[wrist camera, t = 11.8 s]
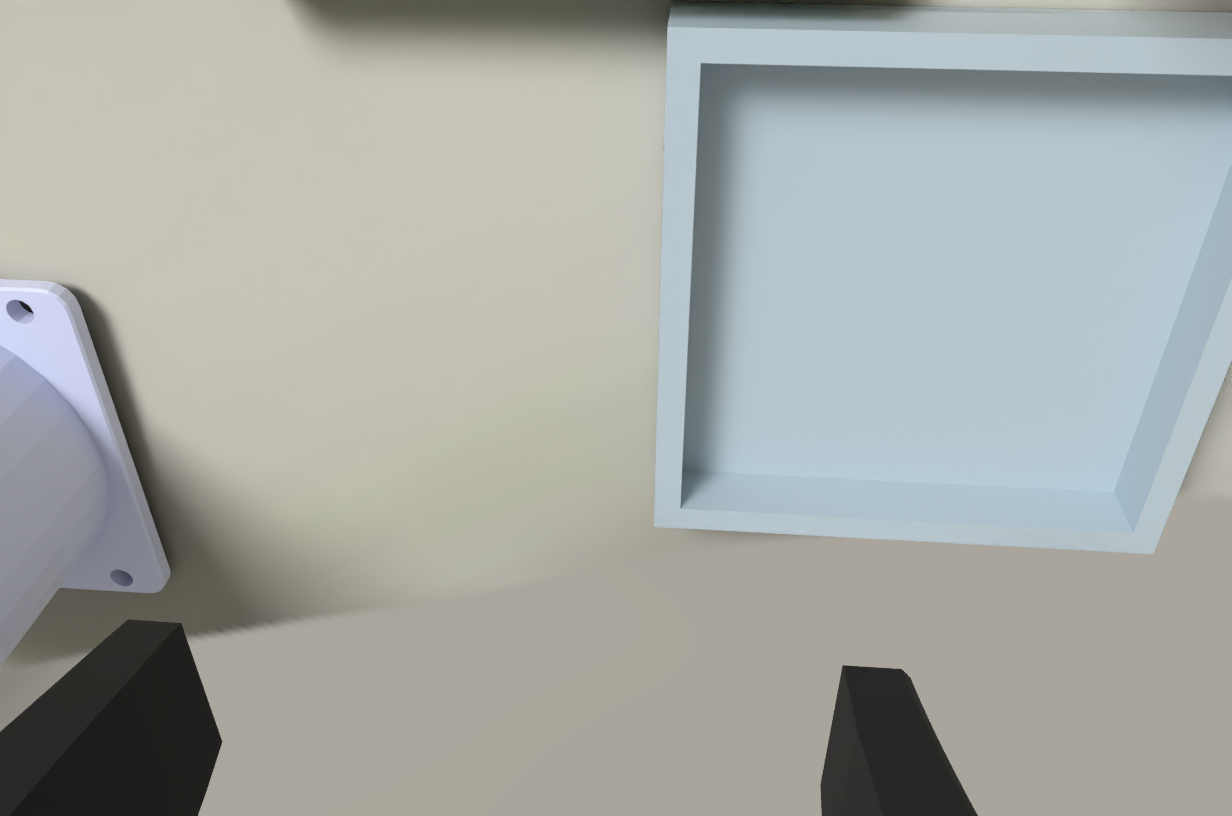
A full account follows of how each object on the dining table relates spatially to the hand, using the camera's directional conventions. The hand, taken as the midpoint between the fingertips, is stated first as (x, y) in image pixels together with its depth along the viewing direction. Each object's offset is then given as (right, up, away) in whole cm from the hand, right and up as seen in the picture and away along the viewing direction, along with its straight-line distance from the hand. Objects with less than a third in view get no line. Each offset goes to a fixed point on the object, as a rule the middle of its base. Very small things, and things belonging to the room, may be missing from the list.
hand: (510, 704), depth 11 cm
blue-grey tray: (+7, +5, +7) cm, 11 cm away
